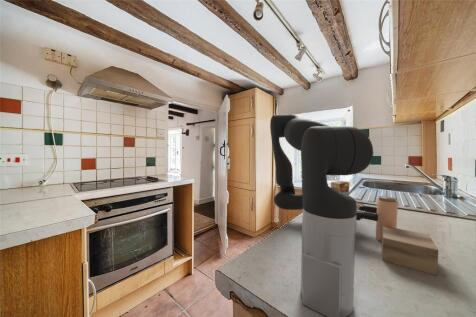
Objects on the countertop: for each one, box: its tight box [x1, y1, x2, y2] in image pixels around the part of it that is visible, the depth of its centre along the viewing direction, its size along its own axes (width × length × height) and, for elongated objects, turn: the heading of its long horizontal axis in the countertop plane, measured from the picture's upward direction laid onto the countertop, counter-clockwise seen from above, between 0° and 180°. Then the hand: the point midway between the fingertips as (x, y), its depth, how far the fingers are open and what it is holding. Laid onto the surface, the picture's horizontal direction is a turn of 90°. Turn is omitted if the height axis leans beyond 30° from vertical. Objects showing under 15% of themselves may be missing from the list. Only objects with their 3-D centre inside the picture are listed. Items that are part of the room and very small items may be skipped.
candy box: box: [330, 180, 350, 196], centre depth 82 cm, size 9×4×15 cm, turn 123°
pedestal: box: [381, 226, 439, 276], centre depth 49 cm, size 10×10×6 cm
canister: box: [375, 195, 399, 242], centre depth 60 cm, size 5×5×14 cm
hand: (377, 214), depth 61 cm, fingers open, 8 cm apart
